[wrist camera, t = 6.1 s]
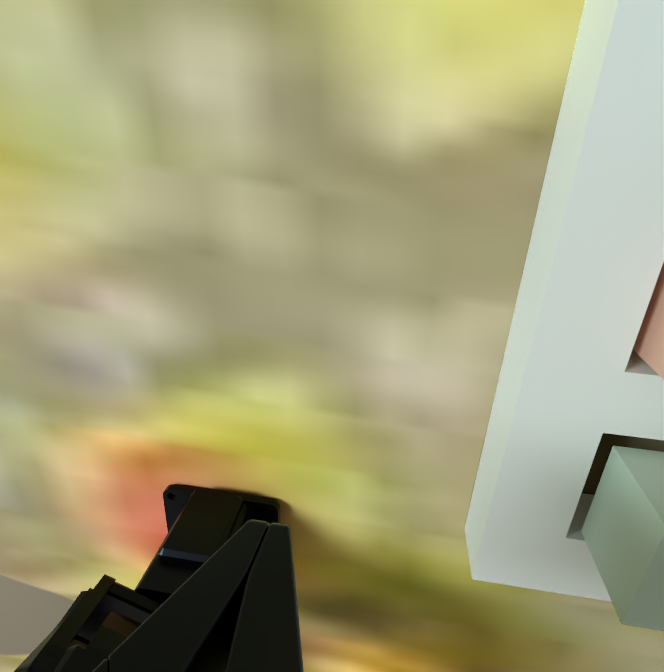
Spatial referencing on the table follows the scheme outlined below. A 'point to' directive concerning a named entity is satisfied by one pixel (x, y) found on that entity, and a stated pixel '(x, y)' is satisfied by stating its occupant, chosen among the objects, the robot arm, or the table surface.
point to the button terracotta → (653, 330)
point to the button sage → (630, 534)
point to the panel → (579, 312)
